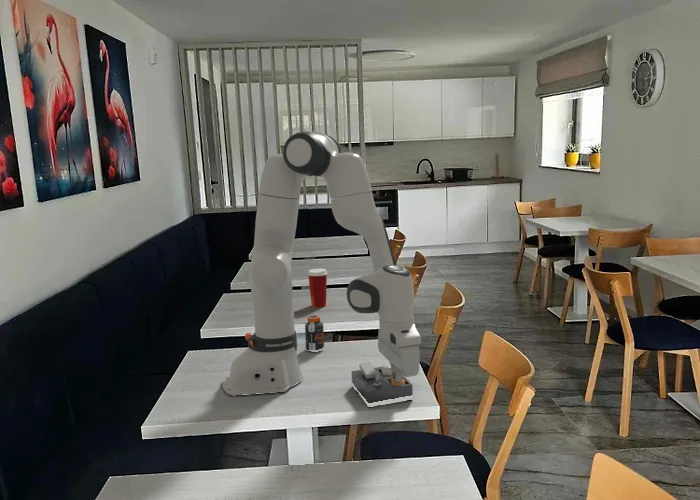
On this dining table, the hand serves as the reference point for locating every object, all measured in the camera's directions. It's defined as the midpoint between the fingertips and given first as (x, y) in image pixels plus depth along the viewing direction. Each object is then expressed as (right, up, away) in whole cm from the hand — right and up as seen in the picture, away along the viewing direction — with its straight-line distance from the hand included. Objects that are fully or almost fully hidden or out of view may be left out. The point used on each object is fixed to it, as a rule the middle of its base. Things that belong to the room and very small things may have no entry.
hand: (397, 379), depth 150 cm
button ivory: (-2, -2, +7) cm, 8 cm away
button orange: (0, -4, +1) cm, 4 cm away
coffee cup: (-25, +10, +89) cm, 93 cm away
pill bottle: (-24, +1, +38) cm, 45 cm away
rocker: (-7, +1, +5) cm, 9 cm away
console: (-4, -5, +4) cm, 7 cm away
